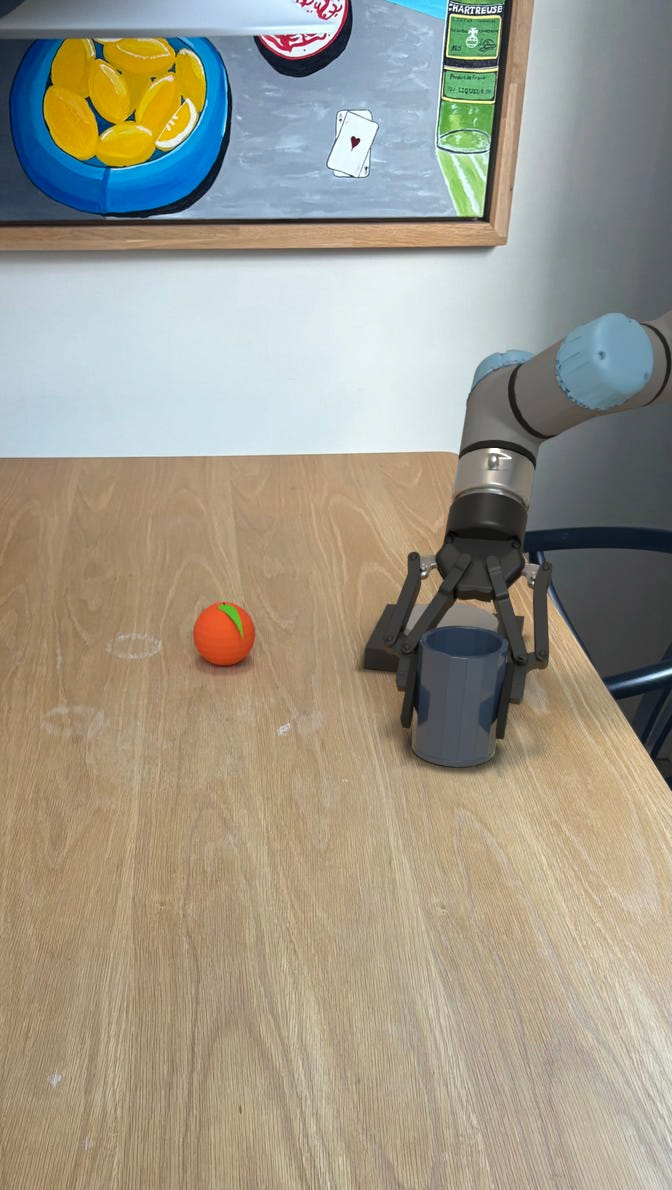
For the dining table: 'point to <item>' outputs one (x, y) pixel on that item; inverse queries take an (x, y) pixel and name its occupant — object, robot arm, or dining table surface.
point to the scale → (453, 617)
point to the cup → (458, 695)
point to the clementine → (224, 633)
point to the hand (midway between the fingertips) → (452, 728)
